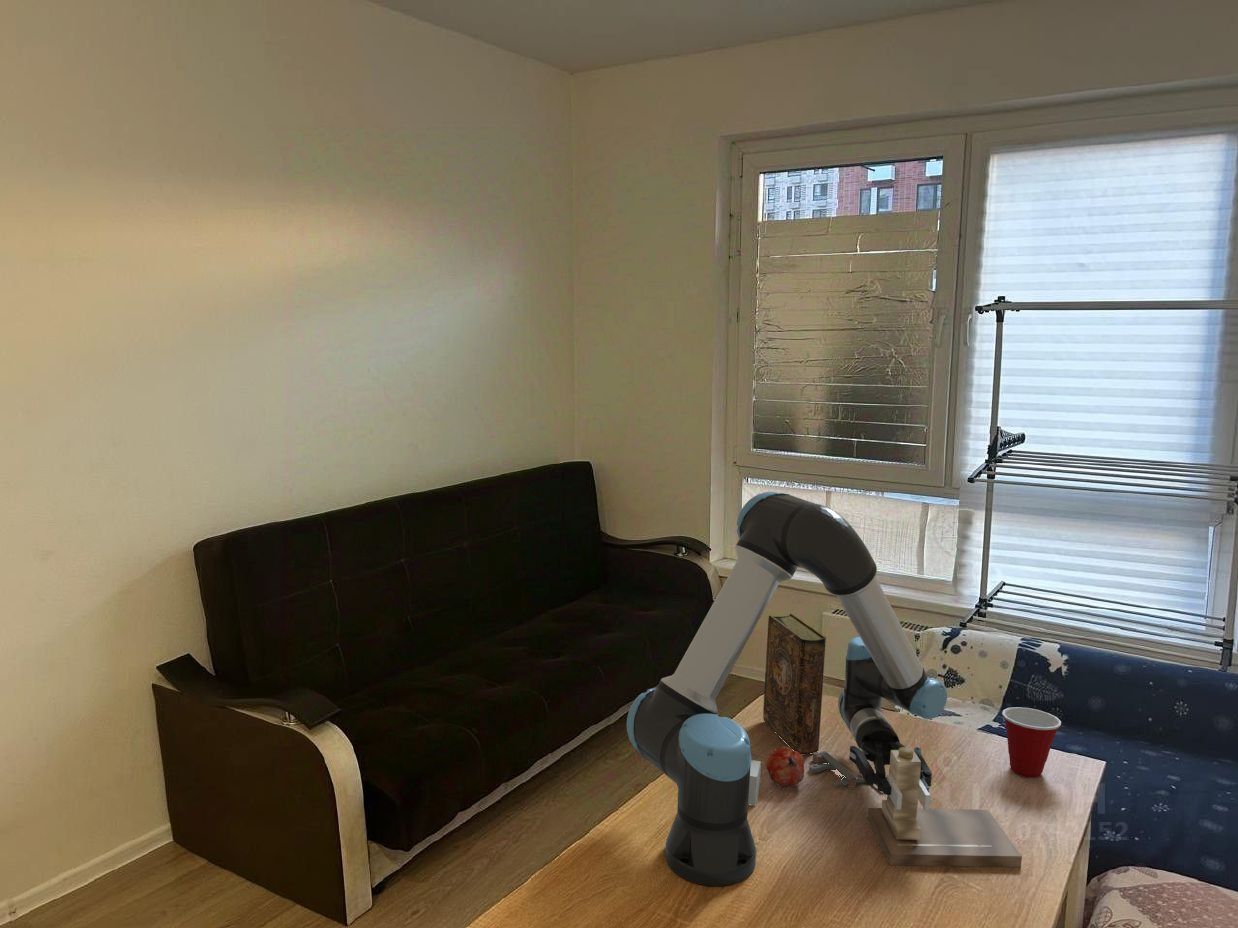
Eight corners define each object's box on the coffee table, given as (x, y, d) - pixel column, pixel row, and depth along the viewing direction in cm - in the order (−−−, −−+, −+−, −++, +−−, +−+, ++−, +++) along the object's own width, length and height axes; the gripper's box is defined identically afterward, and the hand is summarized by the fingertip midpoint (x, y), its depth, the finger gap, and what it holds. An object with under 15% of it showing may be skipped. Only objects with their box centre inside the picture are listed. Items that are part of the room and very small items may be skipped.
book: (821, 752, 190) (829, 638, 185) (798, 756, 188) (805, 641, 184) (784, 717, 205) (790, 612, 201) (762, 720, 204) (768, 614, 199)
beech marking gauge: (896, 839, 156) (902, 763, 153) (881, 809, 165) (887, 737, 162) (919, 839, 156) (926, 763, 153) (903, 810, 165) (909, 738, 162)
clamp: (800, 754, 186) (842, 747, 189) (799, 764, 186) (841, 757, 189) (841, 791, 172) (886, 783, 175) (840, 802, 172) (885, 794, 175)
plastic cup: (1049, 761, 188) (1056, 707, 186) (1059, 788, 178) (1066, 731, 176) (993, 753, 191) (999, 700, 189) (1000, 779, 181) (1006, 723, 179)
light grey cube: (728, 785, 177) (729, 756, 176) (759, 790, 175) (761, 761, 174) (723, 801, 171) (724, 771, 170) (755, 806, 170) (757, 776, 168)
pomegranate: (760, 787, 180) (770, 779, 172) (762, 749, 184) (772, 740, 175) (797, 792, 180) (809, 785, 171) (798, 754, 184) (810, 745, 175)
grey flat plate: (889, 864, 153) (890, 853, 152) (867, 817, 166) (867, 807, 166) (1020, 866, 153) (1022, 855, 152) (987, 819, 167) (988, 809, 166)
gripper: (917, 754, 177) (962, 823, 154) (829, 753, 177) (861, 821, 154) (920, 718, 176) (966, 782, 153) (831, 717, 176) (864, 780, 153)
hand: (913, 802), depth 154 cm, fingers closed on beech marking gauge, 4 cm apart
